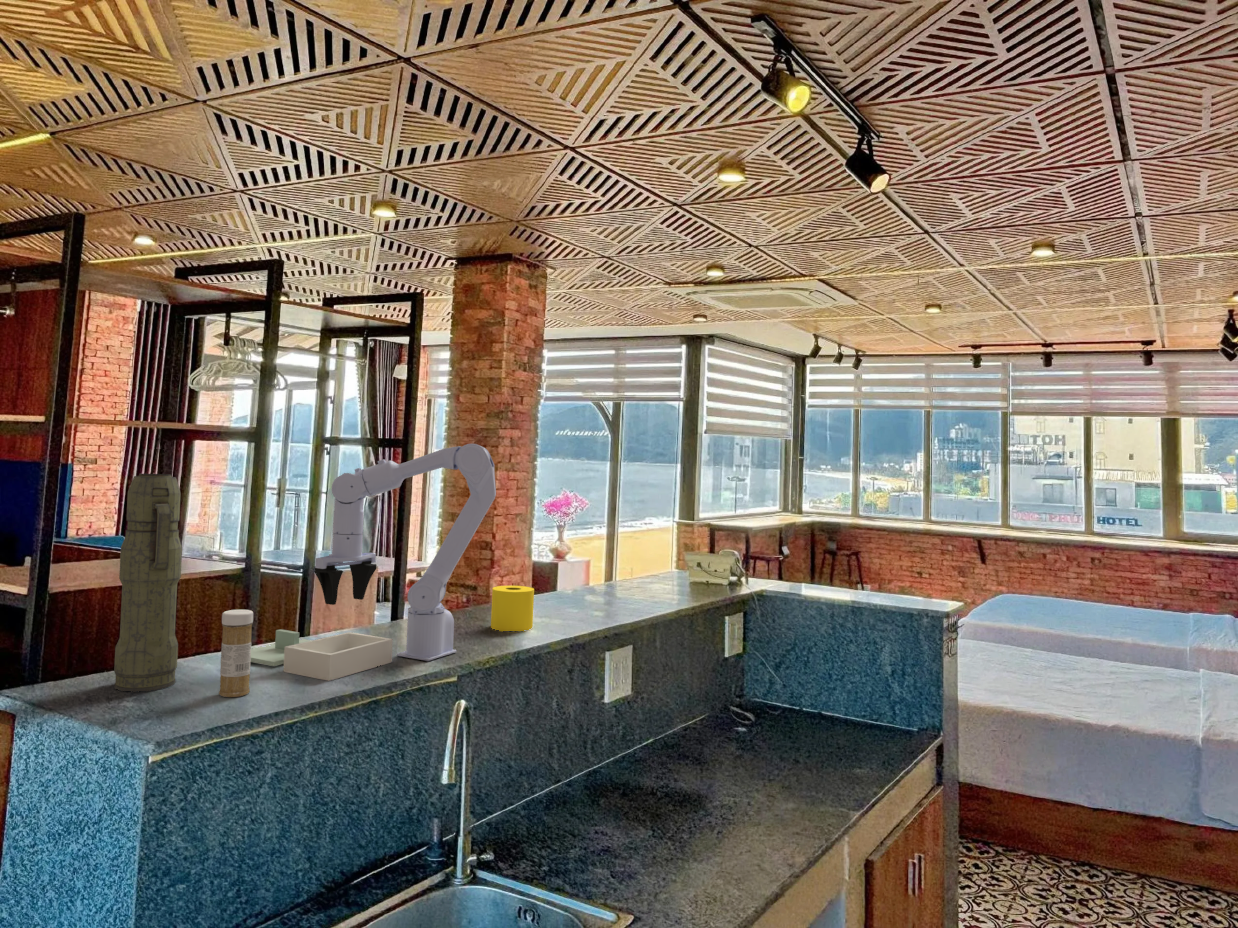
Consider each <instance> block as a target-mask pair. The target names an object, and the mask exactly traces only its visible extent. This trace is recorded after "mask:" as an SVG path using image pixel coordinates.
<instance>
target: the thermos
mask: <svg viewBox="0 0 1238 928" xmlns="http://www.w3.org/2000/svg"><path fill="white" fill-rule="evenodd" d="M181 495H182V494H181V490H180V486H179V482H178V479H177V477H175V476H172V474H167V473H165V474H164V473H139V474H138V475H134V476H133V478H132V481H131V482H130V485H129V487H128V491H127V499H126V500H127V502H126V503H127V504H126V522H127V528H126V530H125V537H124V540H123V541H122V543H121V547H120V554H119V555H120V559H119V575H118V576H119V581H120V583H121V587H122V588H121V602H120V603H121V605H120V606H121V607H120V625H119V627H120V628H119V629H120V630H119V639H118V641H117V643H116V645H115V648H114V651H115V652H114V671H113V672H114V674H115V682H114V689H115V690H116V689H118V690H121V691H120V692H123V691H131V692H130V693H140V692H139V691H146V692H152V691H151V690H154V691H158V689H159V690H163V689H162V688H164V689H167V688H169V687H172V686H174V685H175V684H176V678H175V677H176V669H177V667H178V656H179V655H178V654H179V643H178V639H177V637H176V620H177V619H176V617H177V616H176V615H177V597H178V583H179V581H180V579H181V577H182V561H183V560H182V559H183V558H182V557H183V545H182V542H181V539H180V537H179V536H180V530H179V528H178V527H179V526H178V525H179V522H180V514H181V513H180V512H181V511H180V510H181ZM166 687H167V688H166ZM118 690H117V691H118ZM132 691H133V692H132ZM136 691H138V692H136Z"/></svg>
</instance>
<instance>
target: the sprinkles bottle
mask: <svg viewBox="0 0 1238 928" xmlns="http://www.w3.org/2000/svg"><path fill="white" fill-rule="evenodd" d="M253 623H254V612H253V611H252V610H250V609H231V610H230V609H229V610H226V611H224V612H222V614H221V624H222V625H221V626H222V638H221V651H220V652H221V654H220V670H219V671H220V673H219V675H220V681H219V691H218V694H219V695H220V696H221V697H224V698H240V697H243V696H245V695H248V694H249V693H250V676H251V675H250V674H251V662H250V661H251V649H252V627H253Z"/></svg>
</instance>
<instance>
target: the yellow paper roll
mask: <svg viewBox="0 0 1238 928" xmlns="http://www.w3.org/2000/svg"><path fill="white" fill-rule="evenodd" d="M491 591H492V592H491V594H492V595H491V611H490V612H491V613H490V614H491V615H490V617H491V618H490V629H491V628H492V629H491V630H493V629H495V630H494V631H496V630H499V631H498V632H503V631H523V632H525V631H524V630H529V629H531V628H532V627H533V626H534V625H533V624H534V602H535V600H534V599H535V598H534V597H535V588H534V587H531V586H523V585H497V586H494V587H492V588H491ZM532 629H533V628H532ZM532 629H531V630H532ZM529 631H530V630H529Z"/></svg>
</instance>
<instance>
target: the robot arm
mask: <svg viewBox="0 0 1238 928" xmlns="http://www.w3.org/2000/svg"><path fill="white" fill-rule="evenodd" d="M440 469H448V470H458V471H459V472H460V473H461V475H462V476H463V478H465V480H466V484H467V486H468V489H469V493H470V496H469V498H468V499H467V500H466V502H465V504H464V506H463V507H462V509H461V510H460V513H459V514H458V517H457V518H456V519H455V521H454V523H453V525H452V526H451V528H450V530H449V532H448V533H447V536H446V537H445V539H444V540H443V543H442V544H441V546H440V548H439V549H438V551H437V552H436V554H435V556H434V557H433V559H432V561H431V563H430V565H429V566H428V567H427V568H426V570H425V572H424V573H423V575H422V577H420V579H419V580H418V581H416V582H415V583H413V585H411V587H410V588H409V589H408V592H407V597H406V598H407V602H408V605H409V606H410V607H408V608H407V625H406V626H407V627H406V628H407V629H406V648H405V649H406V650H404V651H401V652H397V653H396V656H397V657H402V658H409V659H413V660H421V661H426V662H429V661H433V660H435V659H438V658H442V657H446V656H448V655H451V654H454V653H457V649H454V636H455V635H454V633H455V619H454V616H453V614H452V613H451V611H449V610H448V609H446V608H445V606H444V605H443V604H442V603H441V602H442V600H444V598H445V595H446V592H447V591H446V590H447V583H448V582H449V580H450V578H451V576H452V574H453V572H454V570H455V568H456V566H457V565H458V563H459V561H460V559H461V557H463V554H464V552H465V551H466V549H467V547H469V544H470V542H471V540H472V539H473V537H474V535H475V533H476V531H477V530H478V528H479V526H480V525H481V523H482V521H483V519H484V518H485V516H486V515H487V513H488V511H489V509H490V508H491V506H492V504H493V502H494V501H495V499H496V496H497V488H496V487H497V486H496V476H495V475H496V472H495V463H494V461H493V458H492V456H491V453H490V452H489V450H488V449H487V448H485V447H484V446H481V445H479V444H477V443H467V444H464V445H463V446H459V445H458V446H452V447H446V448H442V449H439V450H436V451H433V452H430V453H428V454H425V455H422V456H419V457H417V458H413V459H411V460H408V461H406V462H402V463H397V462H396V461H393V460H386V459H381V460H377V464H374V465H371V466H369V467H365V468H360V467H357V468H355V469H354V473H350V472H344V473H342V474H340V475H339V476H337V477H336V478H335V479H334V480H333V481H332V484H331V493H332V495H333V497H334V506H333V507H334V508H333V509H334V510H333V516H332V517H333V520H332V521H333V522H332V542H331V543H332V544H331V553H329V554H328V555H326V556H322V557H315V560H314V561H315V562H314V563H315V565H314V574H315V575H316V577H317V580H318V581H319V584H320V586H321V590H322V593H323V598H324V603H325V605H331V606H335V605H336V604H337V601H338V593H339V591H338V589H339V585H340V581H341V578H342V576H343V572H344V570H341V569H337V567H343V566H344V567H345V566H348V567H349V568H350V572H351V577H352V596H353V600H364V599H365V595H366V591H367V588H368V587H369V582H370V580H371V578H372V577H373V575H374V573H375V571H376V570H377V564H376V558H377V557H376V556H377V553H375V552H363V538H364V537H363V536H364V518H365V517H364V514H365V511H364V501H365V499H366V497H369V498H370V497H373V496H377V495H379V494H382V493H383V494H384V493H386V492H389V491H392V490H395V489H398V488H401V486H402V483H403V481H404V480H405V479H408V478H411V477H414V476H418V475H421V474H422V475H423V474H425V473H428V472H432V471H435V470H440Z"/></svg>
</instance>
